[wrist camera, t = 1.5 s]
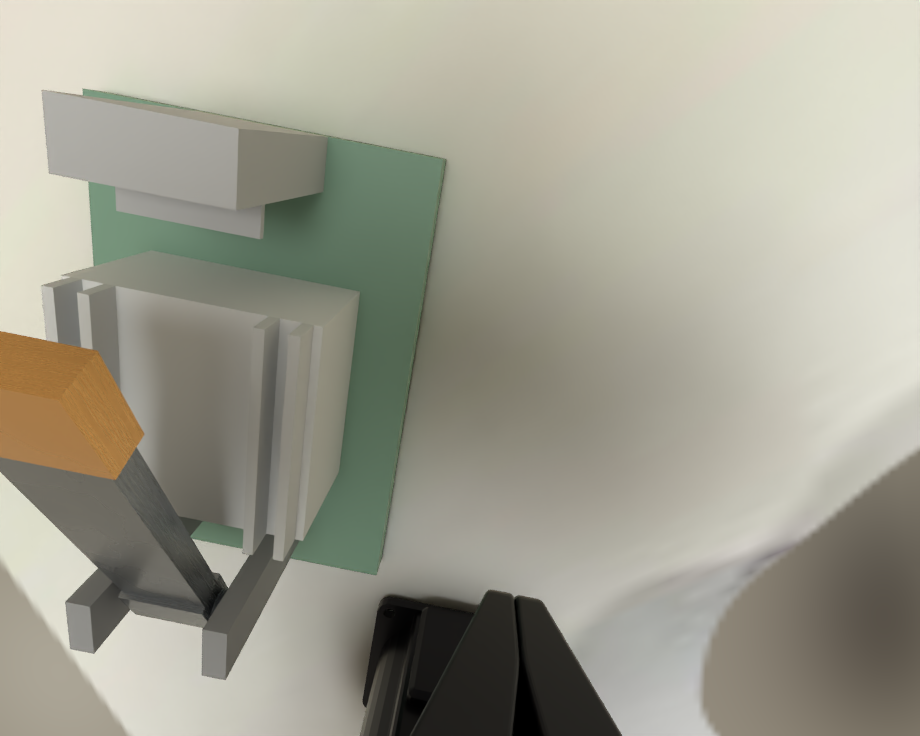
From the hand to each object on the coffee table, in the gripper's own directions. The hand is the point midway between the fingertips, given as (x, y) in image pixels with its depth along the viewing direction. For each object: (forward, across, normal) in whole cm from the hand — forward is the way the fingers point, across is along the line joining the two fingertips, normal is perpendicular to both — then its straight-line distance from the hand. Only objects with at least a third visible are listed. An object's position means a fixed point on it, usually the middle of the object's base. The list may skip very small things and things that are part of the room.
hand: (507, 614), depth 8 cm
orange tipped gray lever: (+4, +9, +3) cm, 10 cm away
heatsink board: (+12, +9, +2) cm, 15 cm away
